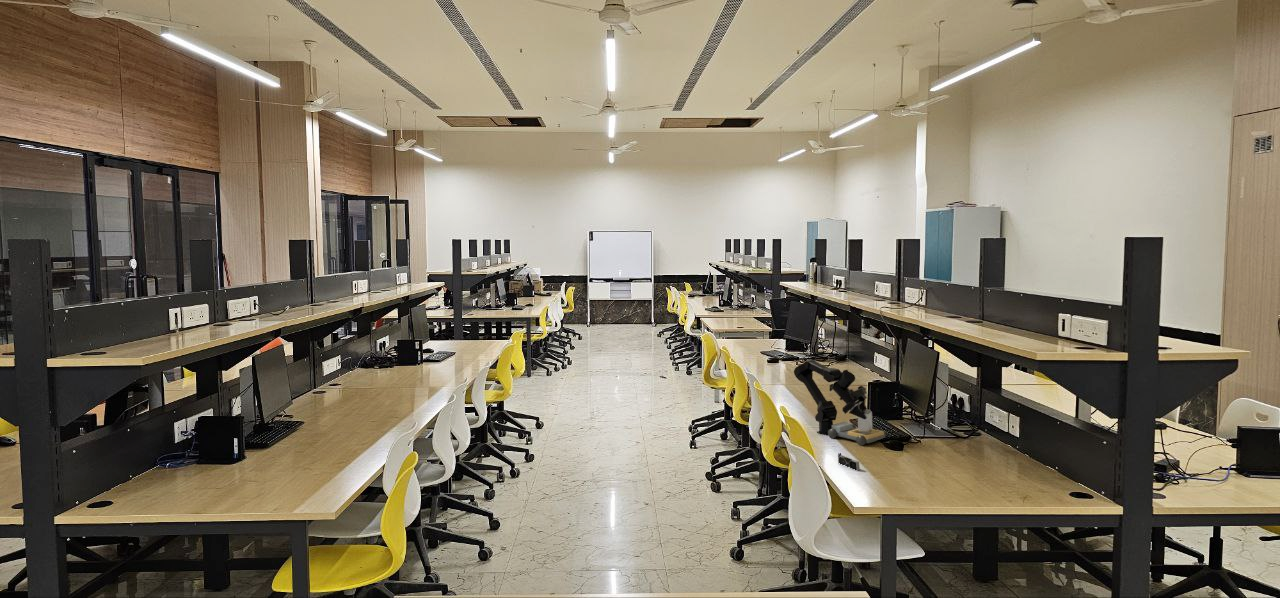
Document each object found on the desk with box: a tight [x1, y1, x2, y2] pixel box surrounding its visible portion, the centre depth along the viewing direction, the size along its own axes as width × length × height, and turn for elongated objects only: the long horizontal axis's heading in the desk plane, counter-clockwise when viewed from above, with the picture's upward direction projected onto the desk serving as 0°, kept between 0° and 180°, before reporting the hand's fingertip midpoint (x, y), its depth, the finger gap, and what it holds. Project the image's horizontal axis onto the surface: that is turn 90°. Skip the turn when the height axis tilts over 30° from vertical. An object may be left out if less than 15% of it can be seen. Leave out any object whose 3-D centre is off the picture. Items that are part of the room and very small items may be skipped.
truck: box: [827, 421, 887, 447], centre depth 332 cm, size 23×15×6 cm, turn 33°
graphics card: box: [837, 452, 860, 471], centre depth 291 cm, size 12×3×5 cm, turn 23°
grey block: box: [857, 408, 873, 433], centre depth 327 cm, size 5×5×10 cm
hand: (867, 417), depth 326 cm, fingers closed on grey block, 5 cm apart
